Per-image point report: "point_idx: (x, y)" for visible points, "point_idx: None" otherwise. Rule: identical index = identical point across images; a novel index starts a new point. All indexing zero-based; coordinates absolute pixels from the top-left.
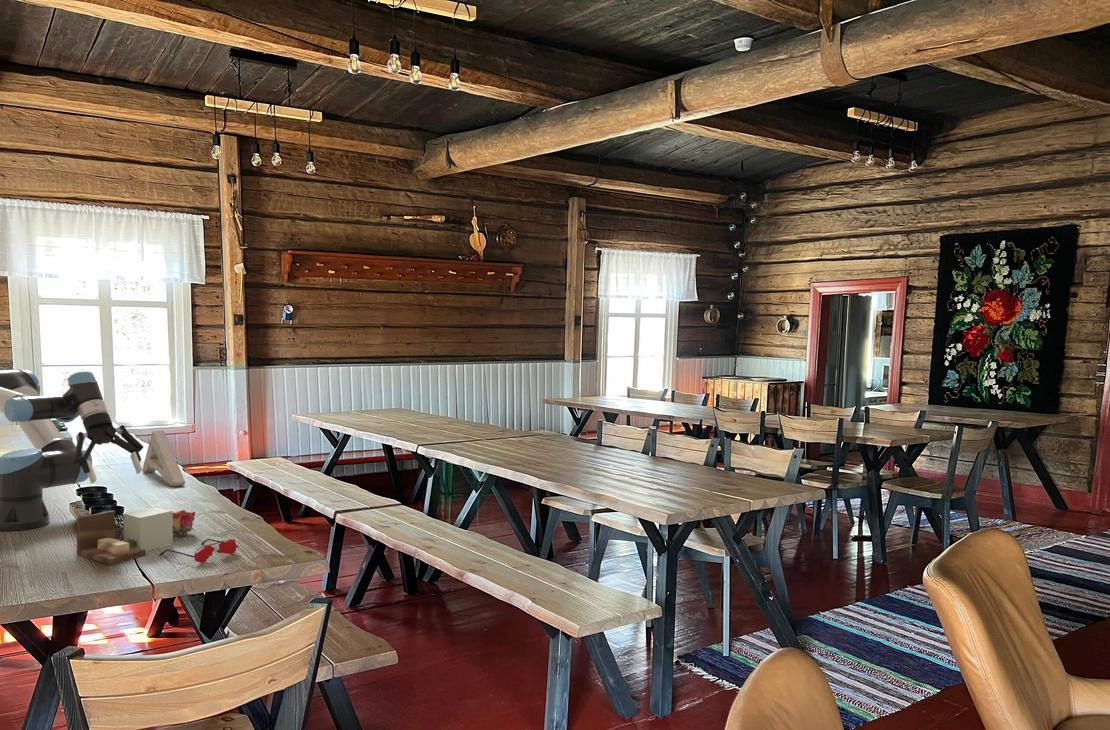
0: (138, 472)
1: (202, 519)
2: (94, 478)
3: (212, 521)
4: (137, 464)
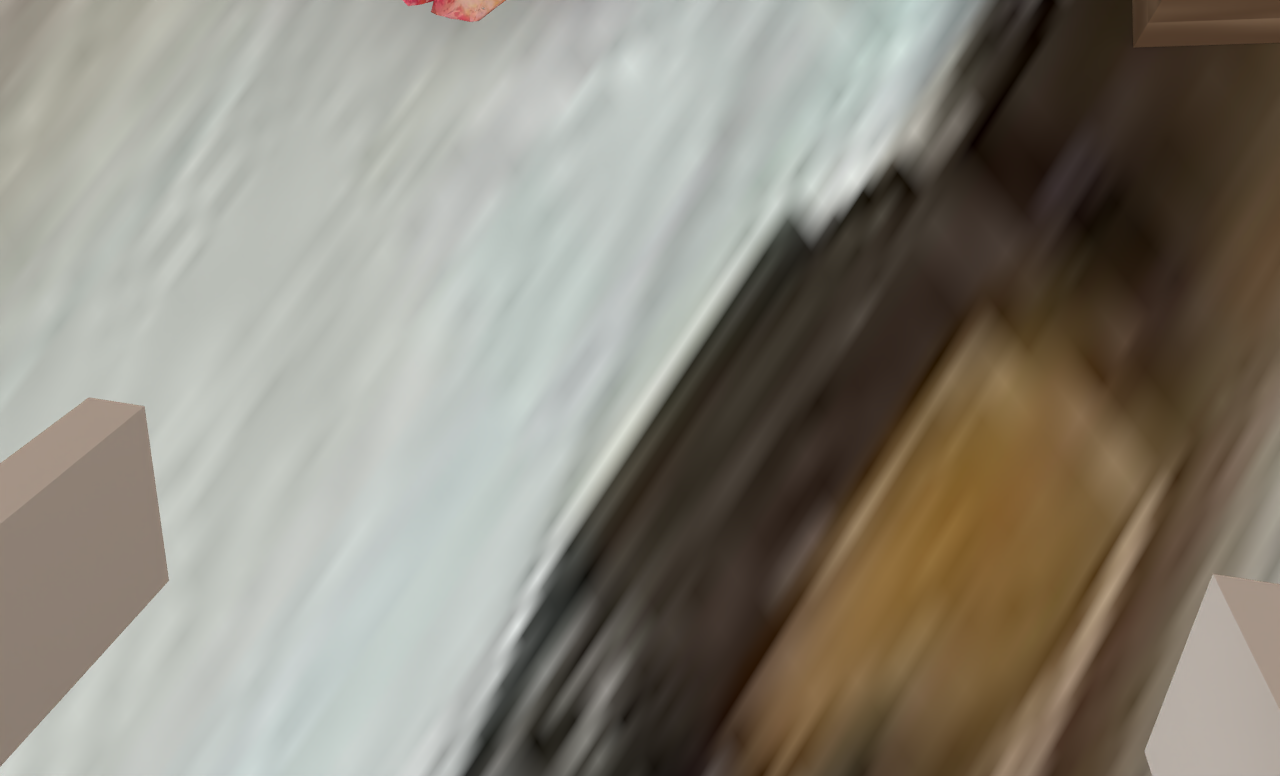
0: (151, 516)
1: (22, 241)
2: (1272, 607)
3: (31, 99)
4: (34, 515)
